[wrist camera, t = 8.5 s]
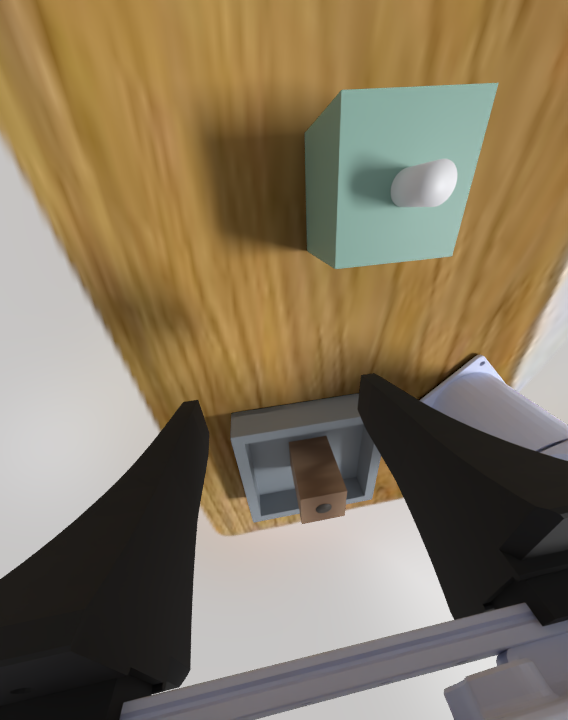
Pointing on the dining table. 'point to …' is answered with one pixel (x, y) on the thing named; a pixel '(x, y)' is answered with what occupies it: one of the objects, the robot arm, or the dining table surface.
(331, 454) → the walnut block
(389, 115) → the green block
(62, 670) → the robot arm
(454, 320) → the dining table surface
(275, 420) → the tray
